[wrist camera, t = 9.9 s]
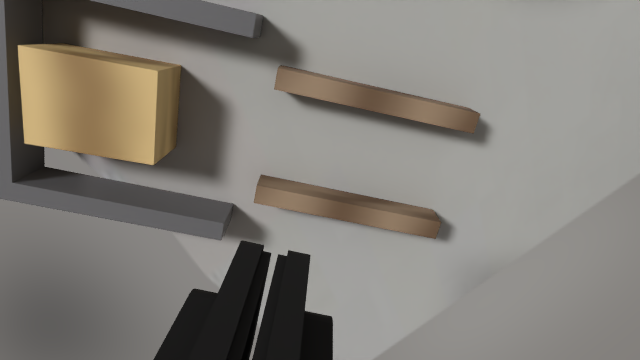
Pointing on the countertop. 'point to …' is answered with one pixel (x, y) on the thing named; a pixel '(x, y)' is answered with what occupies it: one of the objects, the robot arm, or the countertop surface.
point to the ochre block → (98, 102)
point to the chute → (348, 203)
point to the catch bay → (88, 191)
